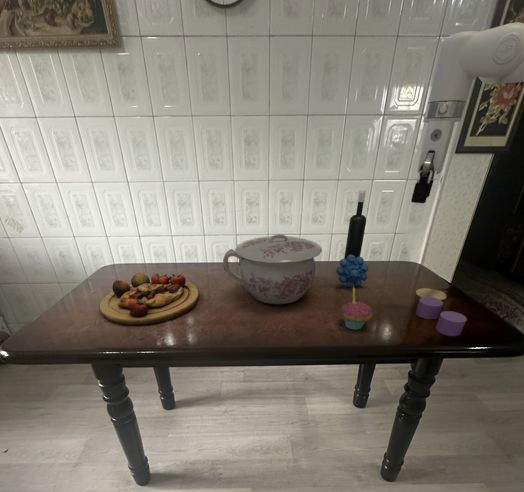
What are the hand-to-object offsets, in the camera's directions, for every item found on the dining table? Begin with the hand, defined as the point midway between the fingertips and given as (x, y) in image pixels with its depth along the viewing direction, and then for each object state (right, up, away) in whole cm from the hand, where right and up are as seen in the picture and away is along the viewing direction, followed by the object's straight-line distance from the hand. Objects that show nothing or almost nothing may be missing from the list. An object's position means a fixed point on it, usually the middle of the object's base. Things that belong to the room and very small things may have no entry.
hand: (420, 199), depth 76 cm
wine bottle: (-5, -8, +44) cm, 45 cm away
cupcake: (-13, -31, +11) cm, 36 cm away
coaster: (+18, -19, +28) cm, 38 cm away
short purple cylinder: (+12, -32, +9) cm, 36 cm away
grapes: (-8, -16, +33) cm, 38 cm away
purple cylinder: (+11, -27, +16) cm, 33 cm away
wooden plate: (-77, -22, +25) cm, 84 cm away
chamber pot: (-35, -19, +29) cm, 49 cm away
